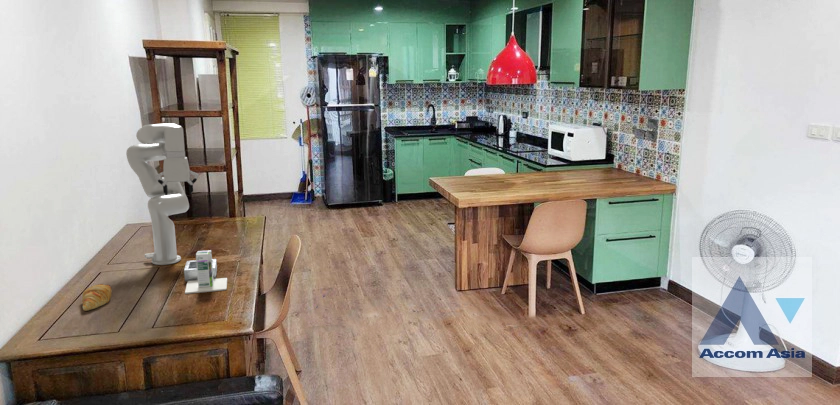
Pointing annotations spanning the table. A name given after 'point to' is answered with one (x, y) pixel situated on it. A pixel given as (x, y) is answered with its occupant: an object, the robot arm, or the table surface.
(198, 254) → the syrup box
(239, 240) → the table surface
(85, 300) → the croissant
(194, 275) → the gray rectangular frame
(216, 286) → the mat
